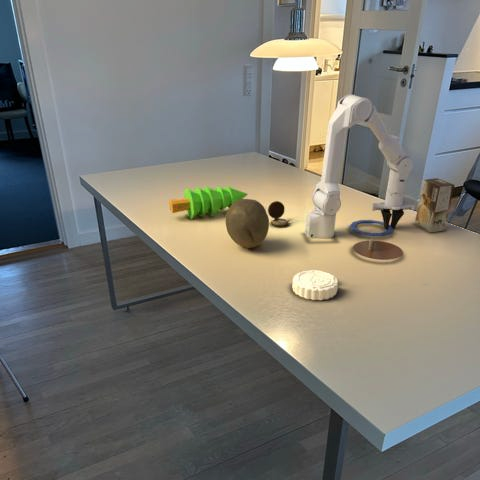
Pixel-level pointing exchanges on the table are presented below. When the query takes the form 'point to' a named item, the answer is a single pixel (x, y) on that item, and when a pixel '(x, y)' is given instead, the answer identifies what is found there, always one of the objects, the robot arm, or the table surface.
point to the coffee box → (434, 204)
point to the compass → (277, 214)
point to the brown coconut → (247, 223)
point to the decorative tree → (206, 201)
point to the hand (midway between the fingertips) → (388, 230)
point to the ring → (368, 232)
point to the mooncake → (315, 285)
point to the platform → (377, 250)
